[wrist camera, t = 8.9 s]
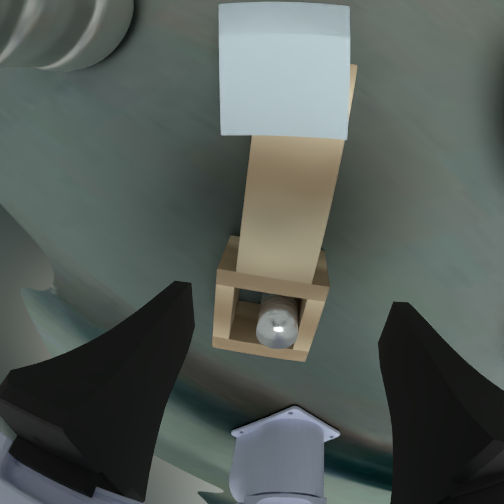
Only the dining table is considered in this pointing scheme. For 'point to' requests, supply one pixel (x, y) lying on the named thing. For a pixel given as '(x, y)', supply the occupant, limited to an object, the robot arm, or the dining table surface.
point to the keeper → (284, 69)
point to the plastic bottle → (61, 32)
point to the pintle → (277, 321)
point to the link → (279, 239)
